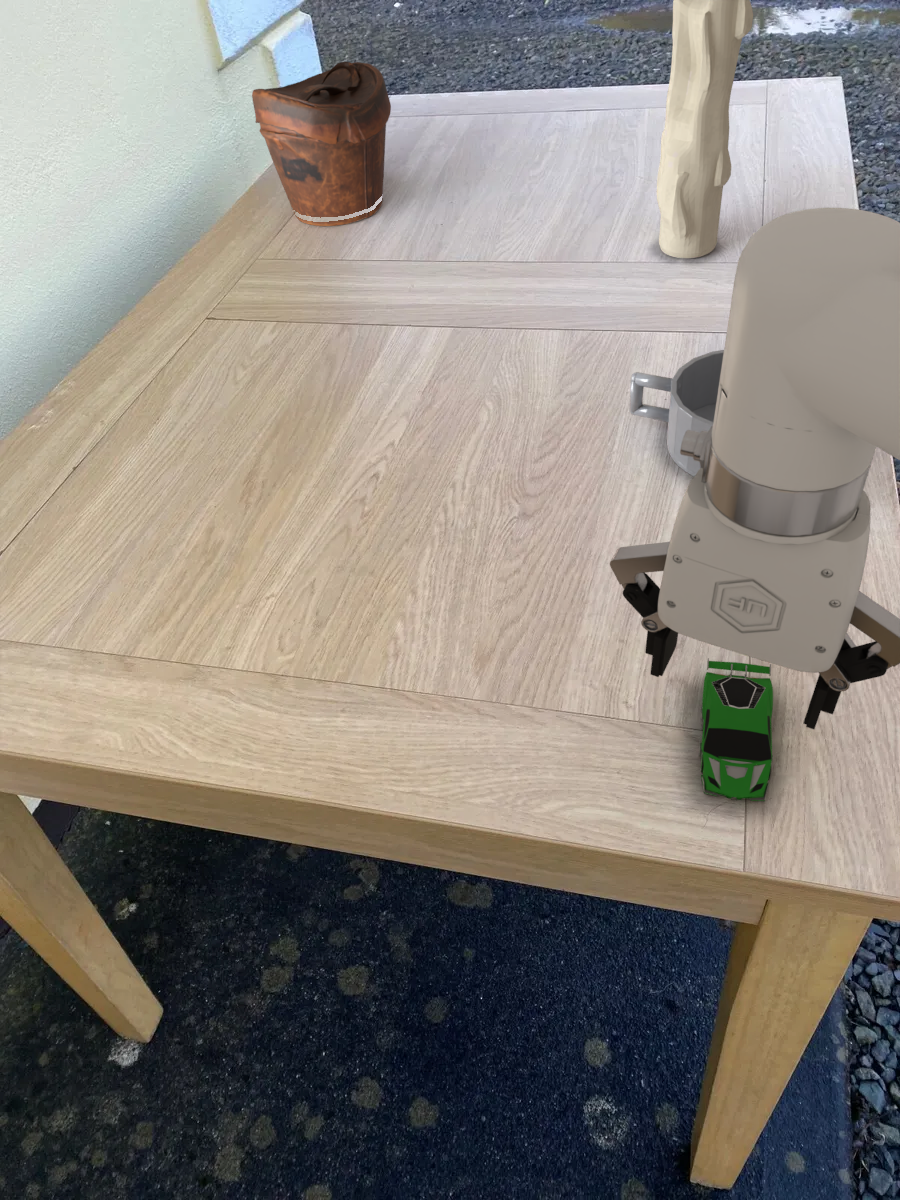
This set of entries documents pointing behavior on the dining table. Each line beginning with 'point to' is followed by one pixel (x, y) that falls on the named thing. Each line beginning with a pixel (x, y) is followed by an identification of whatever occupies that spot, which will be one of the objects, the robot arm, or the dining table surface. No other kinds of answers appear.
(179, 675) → the dining table surface
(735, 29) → the dripping pillar candle
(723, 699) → the toy car
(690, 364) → the measuring cup
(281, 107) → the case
